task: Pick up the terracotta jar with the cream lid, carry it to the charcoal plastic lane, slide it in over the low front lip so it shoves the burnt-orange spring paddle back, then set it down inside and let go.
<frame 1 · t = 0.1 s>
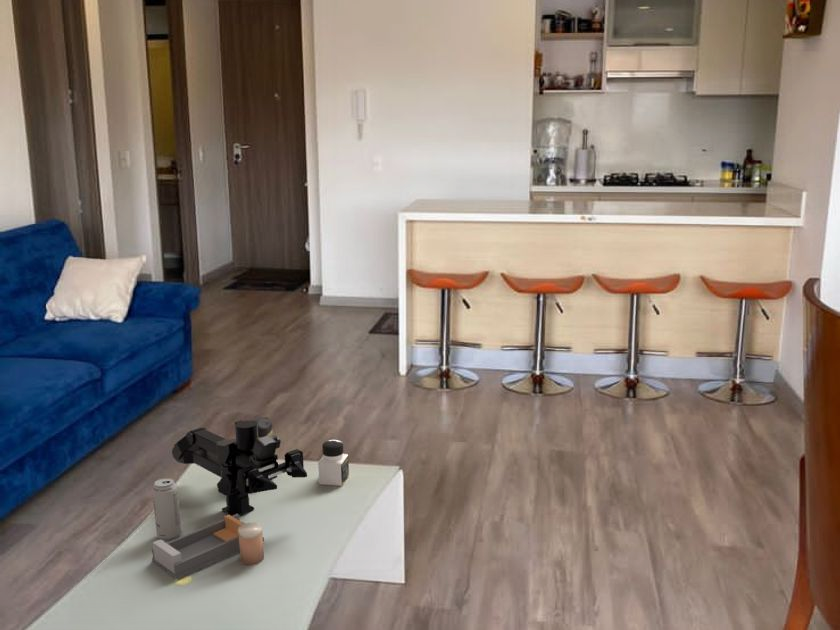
hand: (291, 481, 196), 17 cm above the table, tool horizontal, fingers open, 9 cm apart
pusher: (230, 530, 200), point 3 cm above the table, slide at 0.0 cm
medicine bottle: (334, 480, 235), on the table
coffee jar: (261, 479, 237), on the table
lane: (209, 550, 197), on the table
energy drink can: (169, 536, 204), on the table
jar: (252, 558, 193), on the table
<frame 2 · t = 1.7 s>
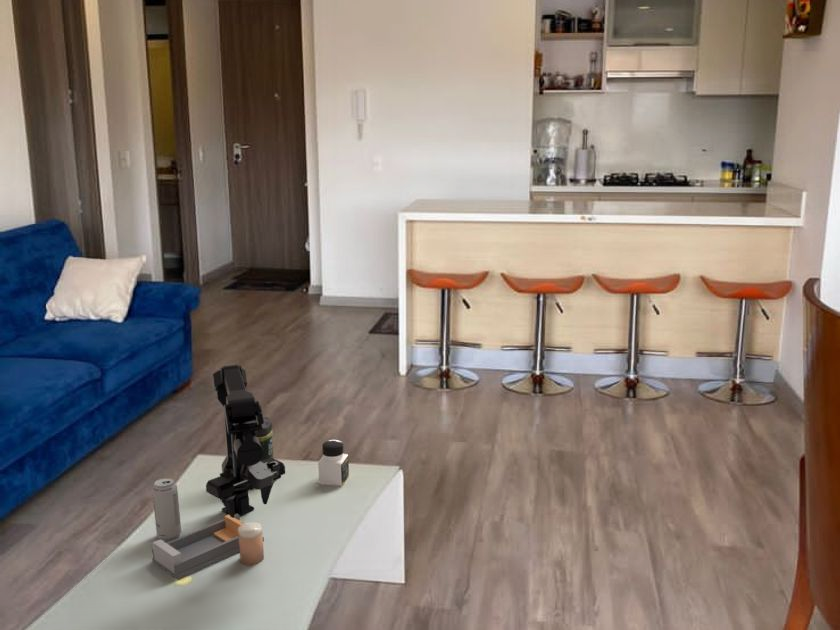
hand: (248, 510, 190), 13 cm above the table, tool pointing down, fingers open, 9 cm apart
nothing on the table moved.
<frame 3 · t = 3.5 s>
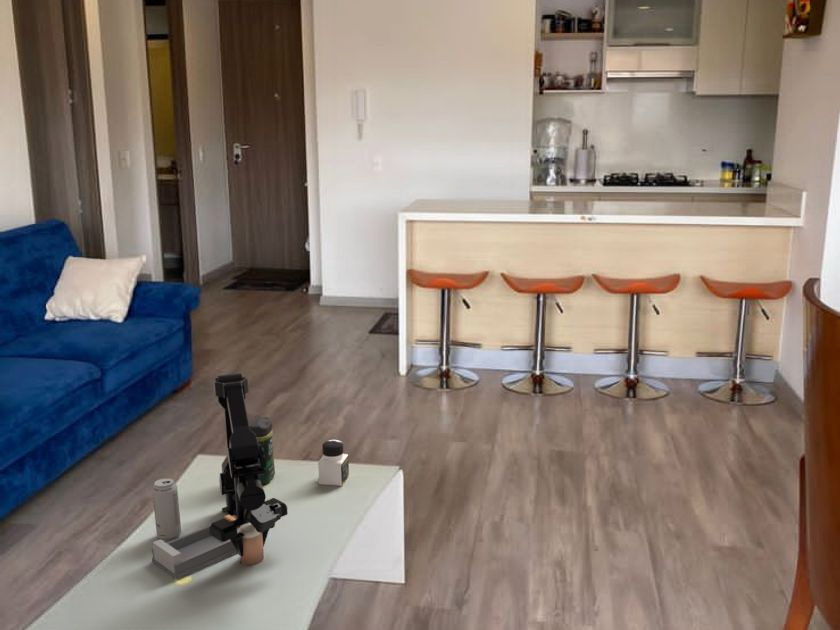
hand: (251, 551, 192), 2 cm above the table, tool pointing down, fingers closed on jar, 6 cm apart
jar: (252, 558, 193), on the table, touching gripper
everything else where it was.
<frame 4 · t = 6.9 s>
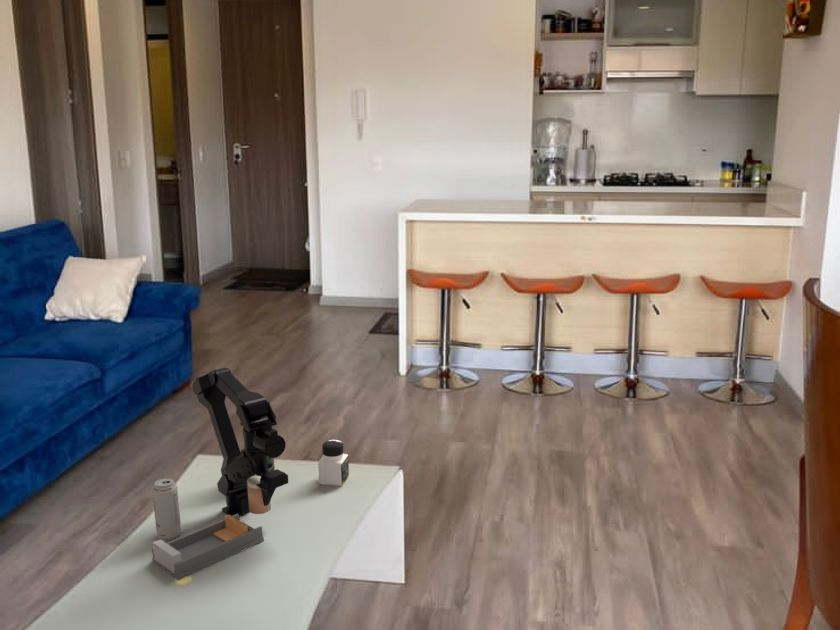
hand: (259, 501, 206), 7 cm above the table, tool pointing down, fingers closed on jar, 6 cm apart
jar: (260, 508, 206), point 5 cm above the table, touching gripper
everything else where it was.
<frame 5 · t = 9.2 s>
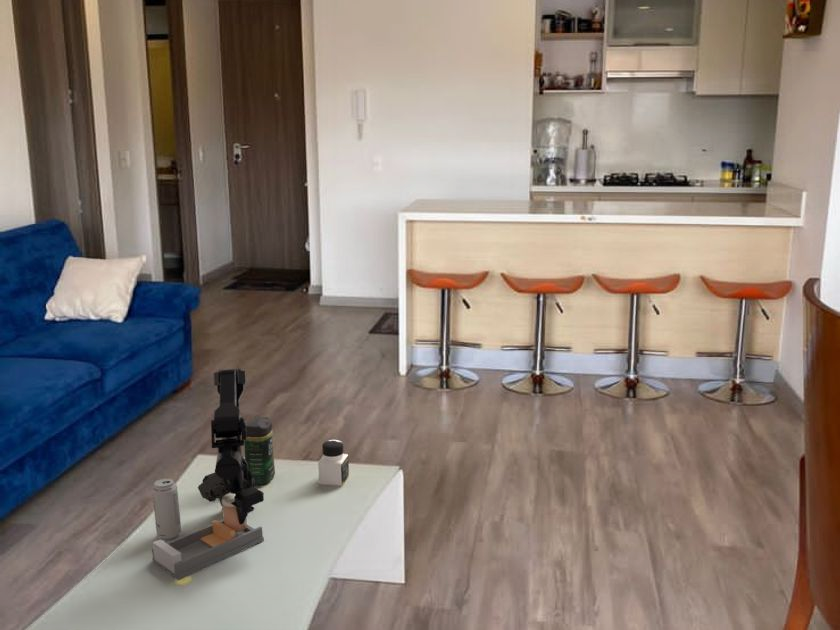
hand: (234, 519, 201), 5 cm above the table, tool pointing down, fingers closed on jar, 6 cm apart
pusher: (217, 535, 198), point 3 cm above the table, slide at 3.7 cm, touching jar
jar: (235, 527, 201), point 3 cm above the table, touching gripper, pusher
everything else where it was.
when the fingers open (4 cm above the table, at t = 10.5 s): jar stays where it is, resting on lane, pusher.
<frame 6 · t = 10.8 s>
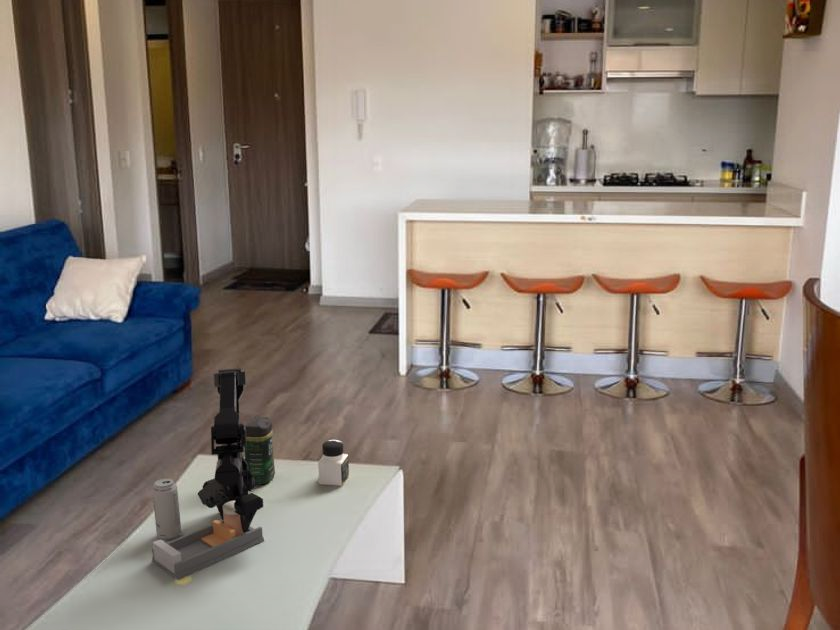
hand: (234, 525, 201), 4 cm above the table, tool pointing down, fingers open, 9 cm apart
jar: (236, 535, 202), point 1 cm above the table, touching lane, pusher
everything else where it was.
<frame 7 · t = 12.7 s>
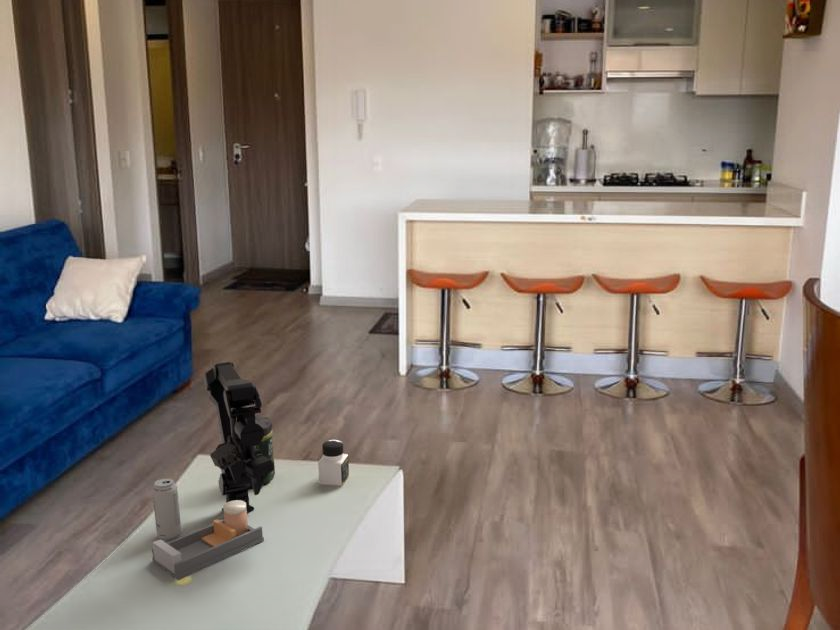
hand: (246, 488, 203), 12 cm above the table, tool pointing down, fingers open, 9 cm apart
nothing on the table moved.
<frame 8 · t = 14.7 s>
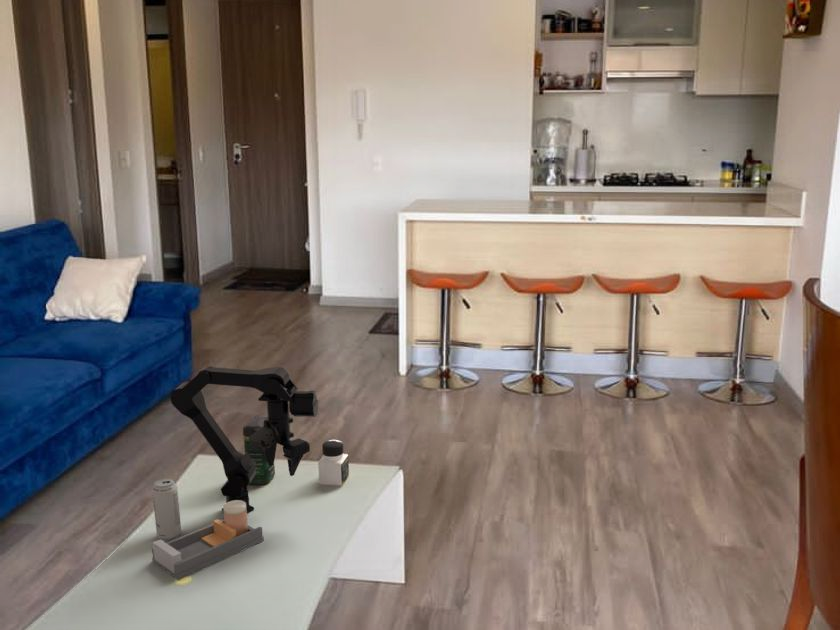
hand: (281, 470, 213), 12 cm above the table, tool pointing down, fingers open, 9 cm apart
nothing on the table moved.
at the end: jar 0.9 cm from the target spot on the lane, point 1.0 cm above the lane's base; jar tilted 0°; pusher slide at 3.4 cm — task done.
